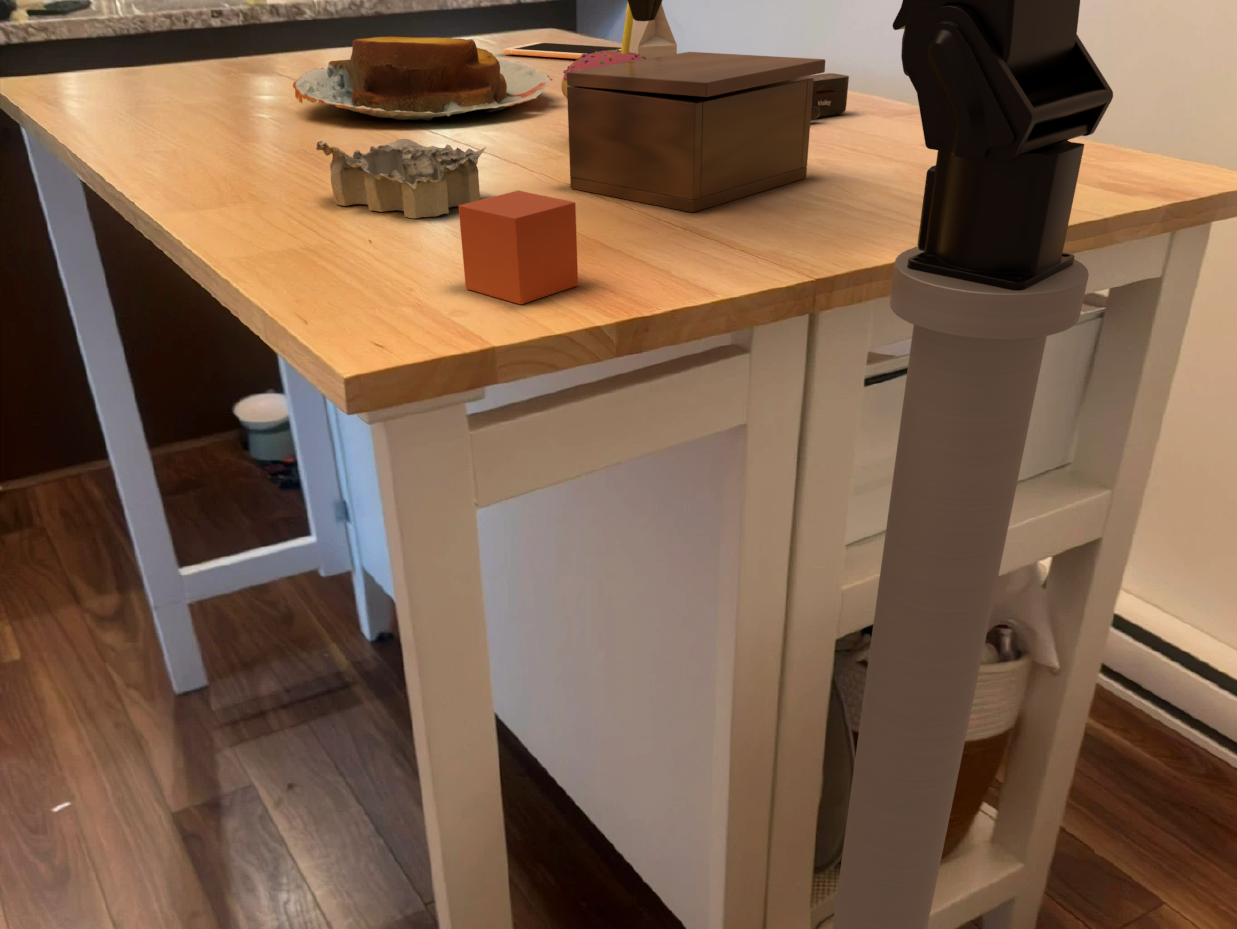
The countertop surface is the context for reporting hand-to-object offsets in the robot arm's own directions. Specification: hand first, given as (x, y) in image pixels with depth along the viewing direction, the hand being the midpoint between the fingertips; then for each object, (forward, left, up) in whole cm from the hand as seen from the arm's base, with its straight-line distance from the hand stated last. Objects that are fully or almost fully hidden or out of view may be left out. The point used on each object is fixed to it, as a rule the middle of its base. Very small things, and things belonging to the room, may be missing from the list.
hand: (644, 20), depth 69 cm
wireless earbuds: (+13, -39, -12) cm, 43 cm away
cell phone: (+62, -58, -12) cm, 85 cm away
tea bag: (+28, -33, -12) cm, 45 cm away
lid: (+5, -11, -5) cm, 13 cm away
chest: (+5, -11, -12) cm, 17 cm away
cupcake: (+20, -19, -12) cm, 30 cm away
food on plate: (+47, -21, -12) cm, 53 cm away
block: (-4, +15, -12) cm, 19 cm away
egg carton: (+17, +6, -12) cm, 22 cm away
